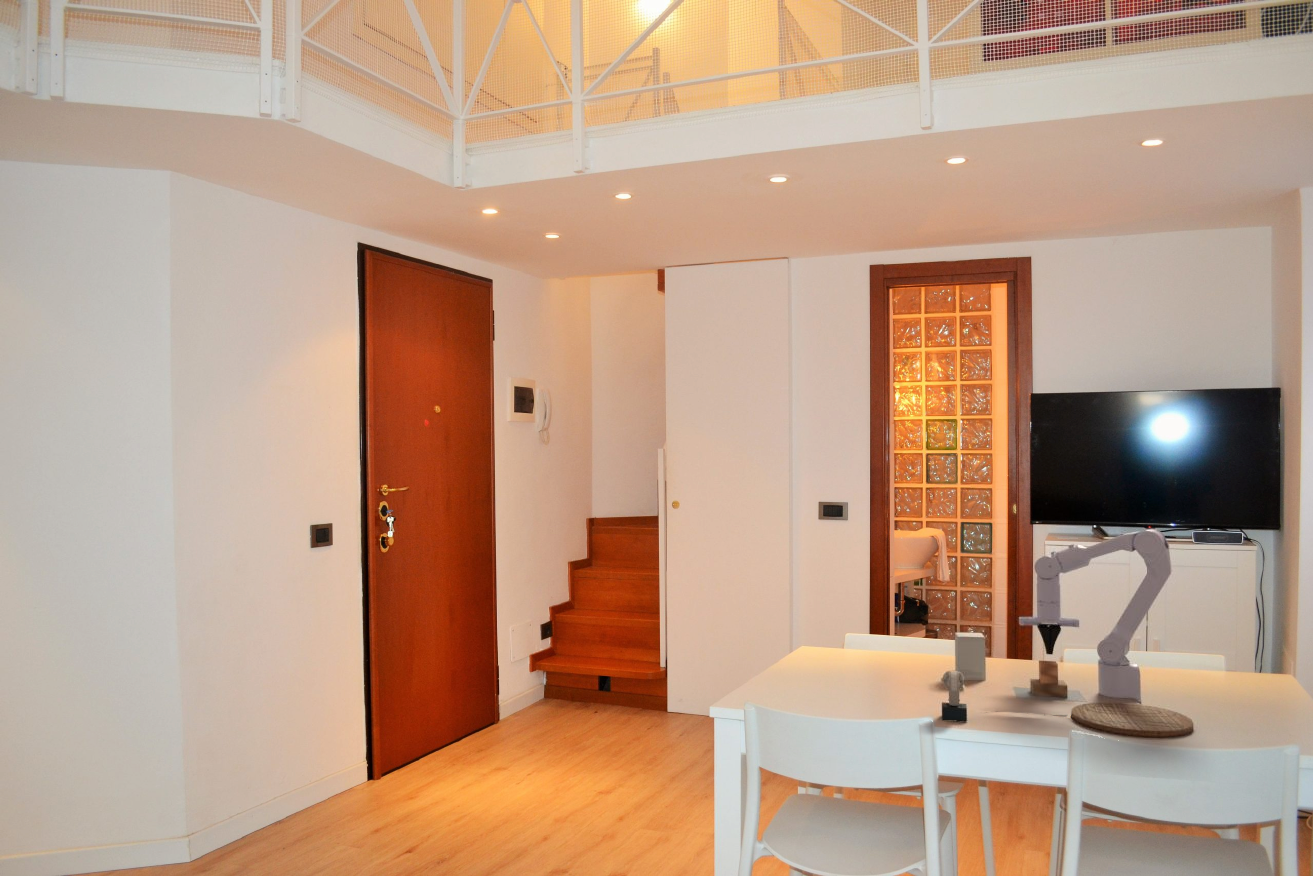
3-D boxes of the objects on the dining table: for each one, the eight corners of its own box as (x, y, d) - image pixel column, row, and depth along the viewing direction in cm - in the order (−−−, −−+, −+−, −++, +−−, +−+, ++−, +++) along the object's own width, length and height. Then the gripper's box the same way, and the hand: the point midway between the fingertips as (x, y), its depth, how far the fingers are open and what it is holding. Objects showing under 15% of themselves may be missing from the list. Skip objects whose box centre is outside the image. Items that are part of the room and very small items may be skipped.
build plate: (1078, 694, 246) (1078, 690, 246) (1087, 705, 235) (1087, 701, 235) (1012, 691, 250) (1012, 687, 251) (1017, 702, 239) (1017, 698, 239)
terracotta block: (1055, 681, 244) (1055, 661, 244) (1058, 684, 240) (1057, 664, 240) (1039, 680, 245) (1038, 660, 245) (1041, 683, 241) (1040, 663, 241)
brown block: (1063, 692, 245) (1063, 680, 245) (1067, 697, 239) (1067, 685, 239) (1030, 690, 247) (1030, 678, 247) (1033, 696, 241) (1033, 684, 241)
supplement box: (986, 684, 258) (985, 637, 259) (957, 683, 260) (957, 636, 260) (982, 678, 266) (982, 632, 266) (954, 677, 267) (954, 631, 267)
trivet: (1207, 743, 204) (1207, 734, 204) (1080, 735, 211) (1080, 726, 211) (1177, 714, 228) (1177, 706, 228) (1064, 707, 235) (1064, 699, 235)
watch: (966, 715, 227) (965, 668, 227) (967, 724, 219) (966, 675, 219) (941, 713, 228) (940, 667, 229) (941, 722, 221) (941, 674, 221)
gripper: (1021, 603, 249) (1022, 655, 249) (1081, 604, 246) (1082, 658, 246) (1017, 599, 256) (1018, 650, 256) (1076, 600, 253) (1076, 652, 252)
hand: (1049, 653), depth 251 cm, fingers closed
